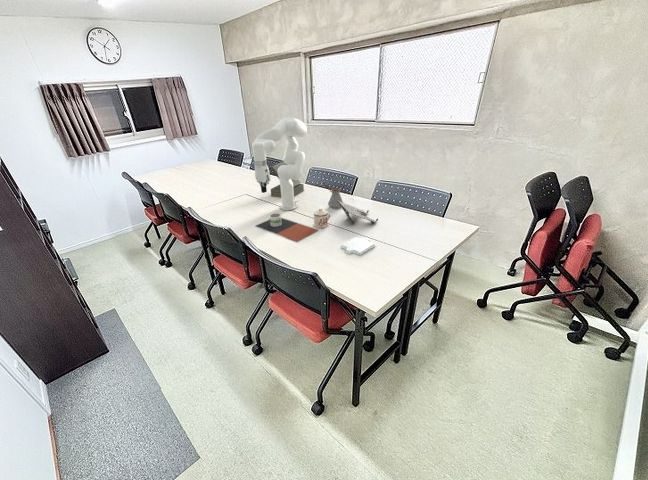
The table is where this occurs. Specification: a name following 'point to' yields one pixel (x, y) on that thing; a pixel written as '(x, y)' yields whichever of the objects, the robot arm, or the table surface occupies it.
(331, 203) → the coffee pot
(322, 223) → the teacup with lid
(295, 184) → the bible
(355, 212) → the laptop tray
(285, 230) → the felt runner
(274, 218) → the cup
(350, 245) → the mounting plate
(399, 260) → the table surface
